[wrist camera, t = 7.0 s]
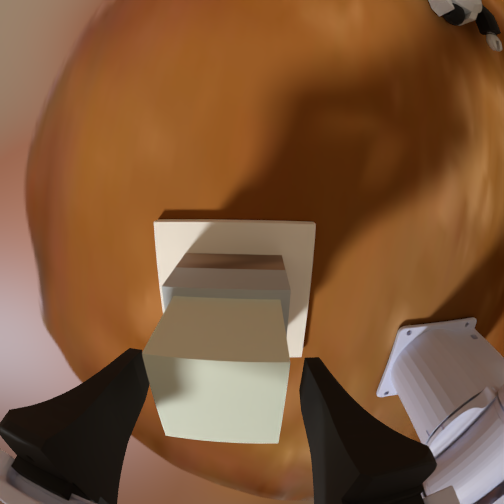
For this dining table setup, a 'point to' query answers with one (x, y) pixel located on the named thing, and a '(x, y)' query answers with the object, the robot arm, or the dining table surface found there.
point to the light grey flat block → (229, 285)
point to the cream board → (246, 242)
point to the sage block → (220, 369)
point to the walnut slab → (232, 261)
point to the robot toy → (469, 17)
